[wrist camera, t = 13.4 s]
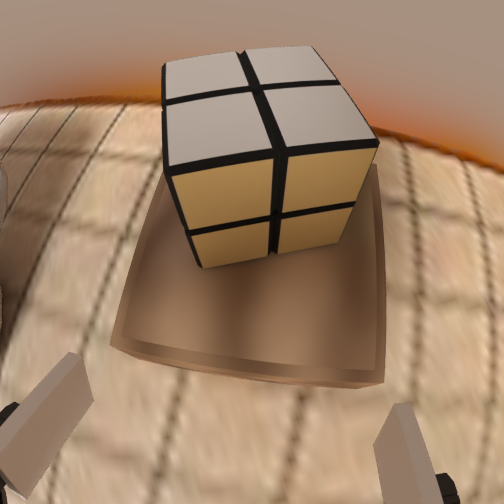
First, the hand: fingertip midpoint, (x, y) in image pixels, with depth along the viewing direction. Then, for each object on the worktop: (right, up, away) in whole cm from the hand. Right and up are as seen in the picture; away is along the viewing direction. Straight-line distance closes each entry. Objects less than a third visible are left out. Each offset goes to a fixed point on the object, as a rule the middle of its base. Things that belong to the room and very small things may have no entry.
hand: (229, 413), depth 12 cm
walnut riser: (+2, +4, +16) cm, 17 cm away
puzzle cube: (+1, +10, +13) cm, 16 cm away
